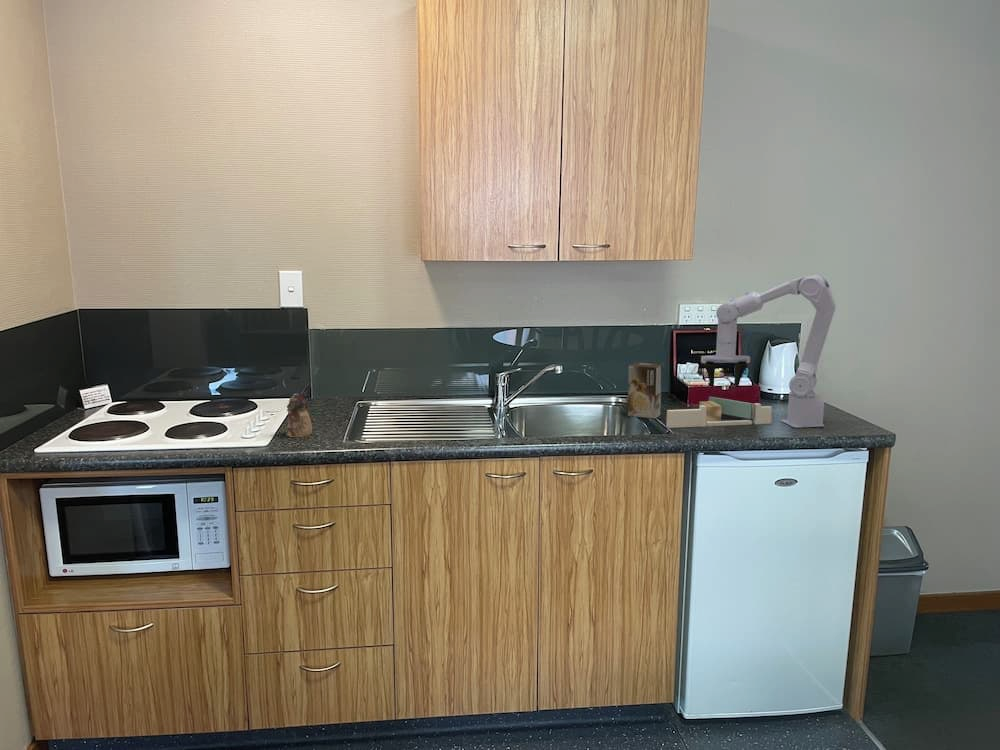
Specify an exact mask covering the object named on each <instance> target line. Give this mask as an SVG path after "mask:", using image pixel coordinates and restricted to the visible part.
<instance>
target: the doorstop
mask: <svg viewBox="0 0 1000 750" xmlns="http://www.w3.org/2000/svg"><path fill="white" fill-rule="evenodd" d="M698 403H699V404H698V405H704V406H706V422H711V421H722V414H721V408H722V406H720V405H718V404H717V403H715V402H713V401H709V400H707V401H705V400H704V401H703V400H702V401H699V402H698Z"/></svg>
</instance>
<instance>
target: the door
mask: <svg viewBox="0 0 1000 750" xmlns="http://www.w3.org/2000/svg"><path fill="white" fill-rule="evenodd" d="M708 401H713V402H715V403H717V404H718V405H720V406H722V408H721V415H727V416H731V417H732V416H733V417H739V418H744V419H748V420H753V419H754V414H755V404H754V403H752V402H746V401H740V400H734V399H728V398H721V397H716V396H708Z"/></svg>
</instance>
